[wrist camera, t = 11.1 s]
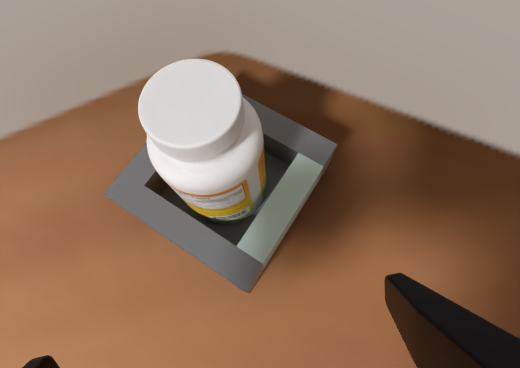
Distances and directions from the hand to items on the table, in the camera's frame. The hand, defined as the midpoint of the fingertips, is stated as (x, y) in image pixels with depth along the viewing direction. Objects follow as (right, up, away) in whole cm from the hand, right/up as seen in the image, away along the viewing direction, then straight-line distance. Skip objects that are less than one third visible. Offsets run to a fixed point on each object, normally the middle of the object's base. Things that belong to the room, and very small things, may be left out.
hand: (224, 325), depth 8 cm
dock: (-1, +3, +14) cm, 14 cm away
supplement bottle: (-1, +4, +13) cm, 13 cm away
